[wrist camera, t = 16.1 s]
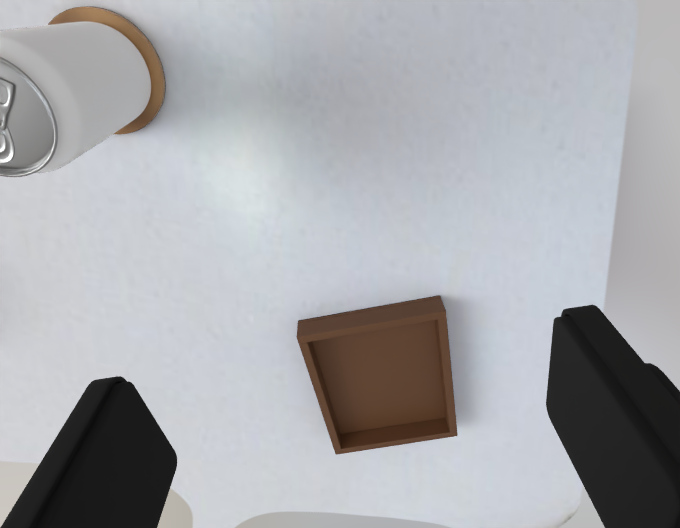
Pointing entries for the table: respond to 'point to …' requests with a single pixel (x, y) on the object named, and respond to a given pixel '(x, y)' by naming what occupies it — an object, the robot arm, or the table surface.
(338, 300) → the table surface
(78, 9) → the coaster
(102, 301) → the table surface
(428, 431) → the tray
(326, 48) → the table surface
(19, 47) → the can
